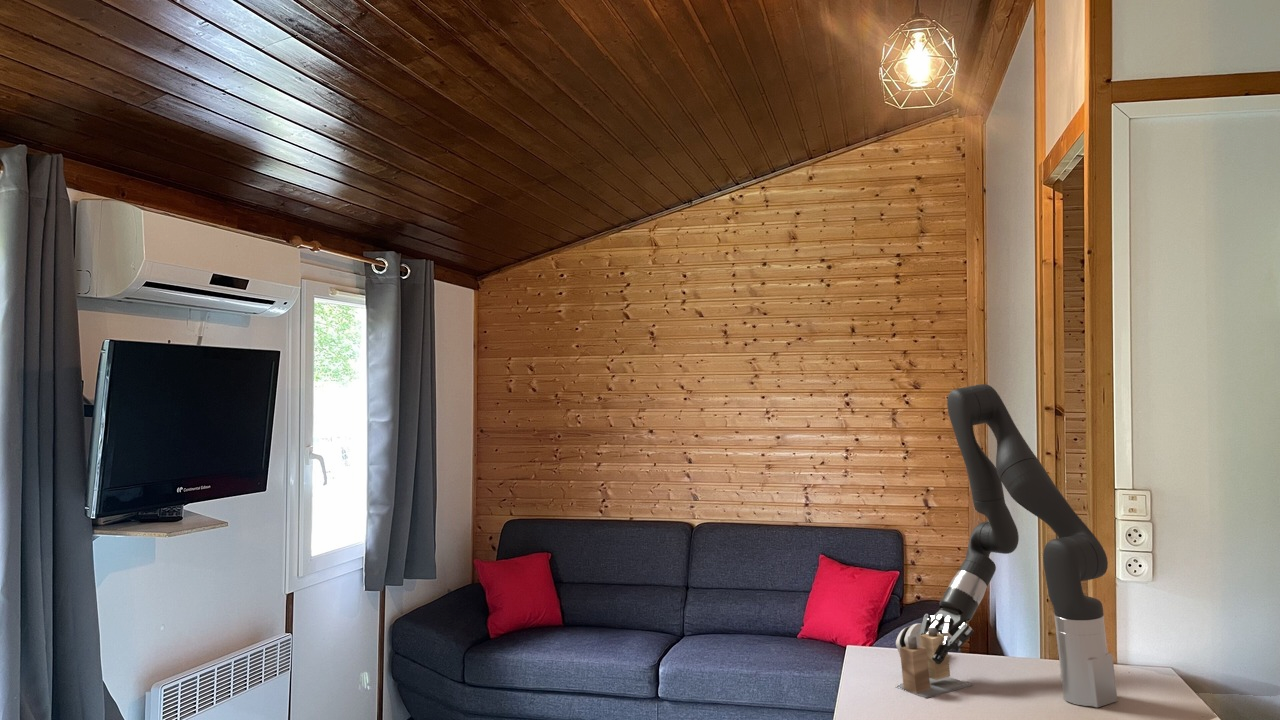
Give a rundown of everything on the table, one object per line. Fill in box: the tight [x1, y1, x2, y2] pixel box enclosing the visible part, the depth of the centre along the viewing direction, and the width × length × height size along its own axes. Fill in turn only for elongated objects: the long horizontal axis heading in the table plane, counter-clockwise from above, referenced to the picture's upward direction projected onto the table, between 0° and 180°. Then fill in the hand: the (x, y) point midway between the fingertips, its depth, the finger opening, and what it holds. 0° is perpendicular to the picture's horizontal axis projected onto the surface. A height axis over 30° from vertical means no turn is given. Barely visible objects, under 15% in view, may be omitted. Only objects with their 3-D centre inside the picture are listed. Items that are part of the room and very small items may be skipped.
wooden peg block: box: [920, 627, 951, 680], centre depth 203 cm, size 4×4×11 cm
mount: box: [896, 636, 972, 699], centre depth 203 cm, size 10×13×12 cm
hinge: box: [895, 622, 926, 658], centre depth 220 cm, size 17×5×10 cm, turn 145°
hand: (928, 659), depth 203 cm, fingers closed on wooden peg block, 4 cm apart
